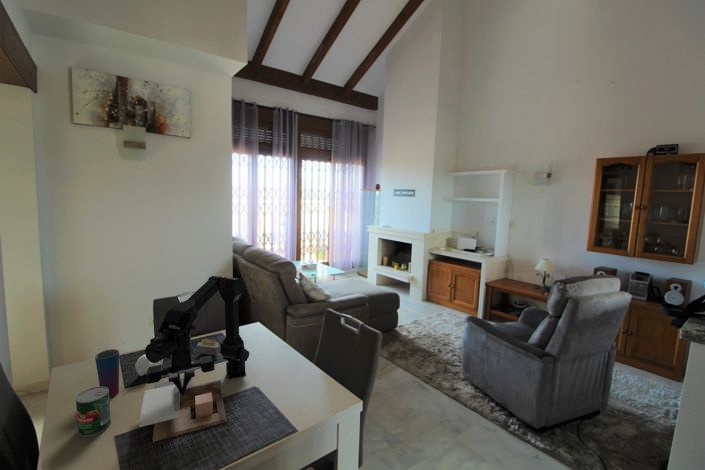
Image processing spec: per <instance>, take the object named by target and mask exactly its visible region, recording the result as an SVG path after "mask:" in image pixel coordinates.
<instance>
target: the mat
mask: <svg viewBox="0 0 705 470" xmlns="http://www.w3.org/2000/svg"><path fill="white" fill-rule="evenodd" d="M180 378H181V383H182V387H183V378H184V377H180ZM170 385H174V383H173V382H169V380H167V381H162V382H156V383H155V388H160V387H165V386H170ZM190 386H193V377H192V378H191V379H190V381H189V383H188V385H187V387H190Z"/></svg>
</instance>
